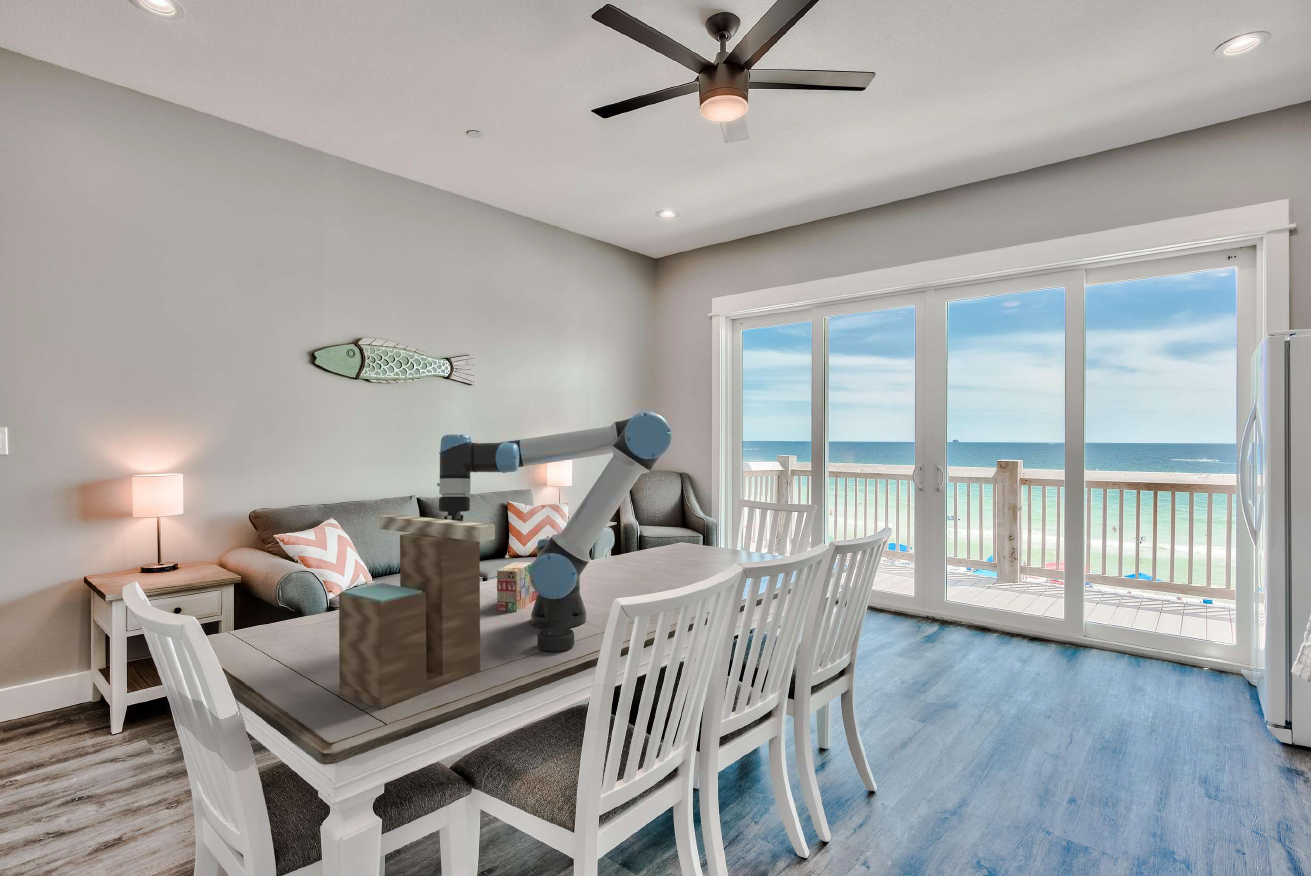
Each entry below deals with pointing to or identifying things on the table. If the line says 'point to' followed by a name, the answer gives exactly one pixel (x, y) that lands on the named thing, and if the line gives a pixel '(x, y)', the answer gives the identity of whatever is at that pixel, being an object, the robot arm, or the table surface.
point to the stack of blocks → (514, 587)
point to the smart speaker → (555, 639)
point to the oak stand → (413, 624)
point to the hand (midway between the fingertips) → (452, 581)
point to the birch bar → (438, 527)
